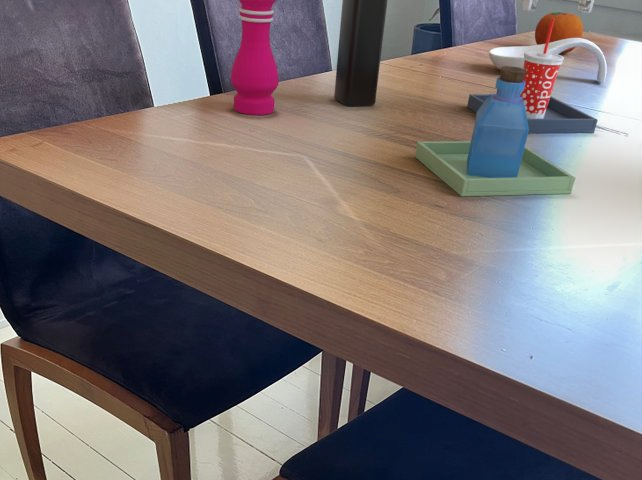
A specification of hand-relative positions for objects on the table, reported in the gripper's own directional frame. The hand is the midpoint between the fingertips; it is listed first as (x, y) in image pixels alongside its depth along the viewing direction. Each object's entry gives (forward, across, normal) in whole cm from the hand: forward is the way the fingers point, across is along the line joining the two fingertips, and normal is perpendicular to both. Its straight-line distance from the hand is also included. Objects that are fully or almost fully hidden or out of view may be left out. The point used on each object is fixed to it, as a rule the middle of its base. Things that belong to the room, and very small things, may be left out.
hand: (556, 11), depth 110 cm
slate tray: (+15, 0, 0) cm, 15 cm away
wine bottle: (+15, -27, +10) cm, 33 cm away
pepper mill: (+15, -45, +5) cm, 48 cm away
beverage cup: (+15, 0, 0) cm, 15 cm away
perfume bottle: (+15, -20, -26) cm, 36 cm away
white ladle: (+15, +21, +32) cm, 42 cm away
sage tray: (+15, -20, -26) cm, 36 cm away
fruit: (+15, +38, +57) cm, 70 cm away
